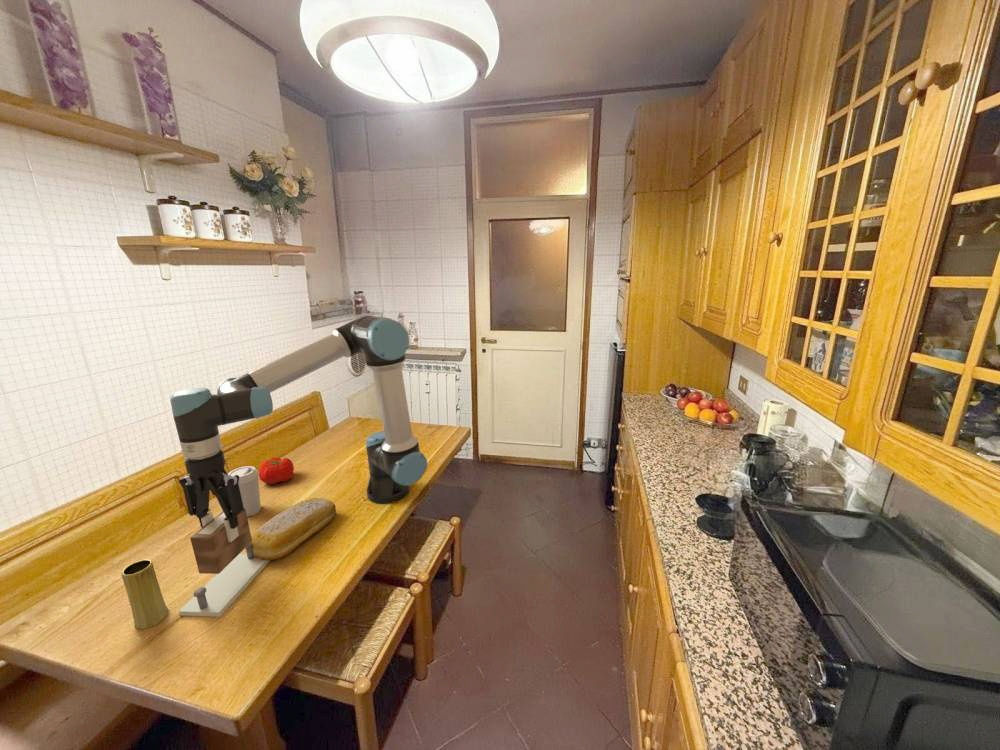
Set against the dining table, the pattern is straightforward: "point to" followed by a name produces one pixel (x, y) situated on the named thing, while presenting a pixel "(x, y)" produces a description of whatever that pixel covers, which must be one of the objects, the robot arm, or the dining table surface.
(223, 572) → the white board with pegs
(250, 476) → the coffee cup
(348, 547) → the dining table surface
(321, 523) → the bread
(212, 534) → the brown block
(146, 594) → the vase
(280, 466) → the tomato
